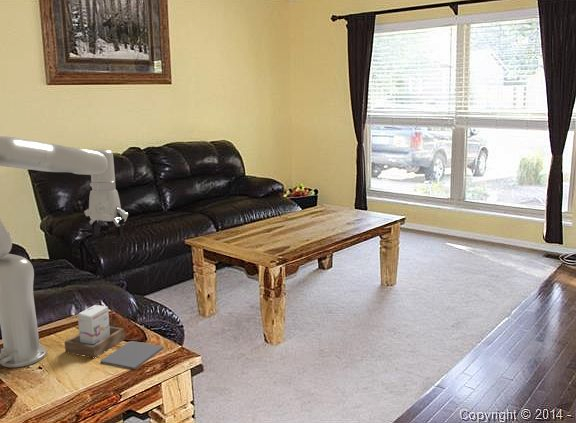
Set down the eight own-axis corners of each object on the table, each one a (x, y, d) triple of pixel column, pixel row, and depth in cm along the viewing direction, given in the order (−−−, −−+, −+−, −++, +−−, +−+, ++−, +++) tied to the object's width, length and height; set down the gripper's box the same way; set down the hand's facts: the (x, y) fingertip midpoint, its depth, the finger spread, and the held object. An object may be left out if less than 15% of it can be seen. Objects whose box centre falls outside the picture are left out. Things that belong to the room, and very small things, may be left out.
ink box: (94, 352, 167) (90, 316, 165) (80, 350, 169) (76, 314, 166) (111, 340, 175) (108, 305, 173) (98, 338, 177) (94, 303, 174)
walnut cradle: (94, 358, 164) (93, 347, 163) (65, 352, 168) (64, 341, 167) (125, 338, 176) (124, 328, 176) (97, 333, 180) (96, 323, 180)
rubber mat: (134, 369, 157) (134, 367, 156) (100, 362, 161) (100, 360, 161) (163, 348, 169) (163, 346, 169) (131, 342, 174) (131, 340, 174)
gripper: (75, 187, 186) (79, 236, 190) (117, 189, 180) (121, 240, 183) (90, 183, 193) (94, 231, 196) (132, 185, 187) (135, 235, 190)
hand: (107, 236), depth 190 cm, fingers open, 9 cm apart
